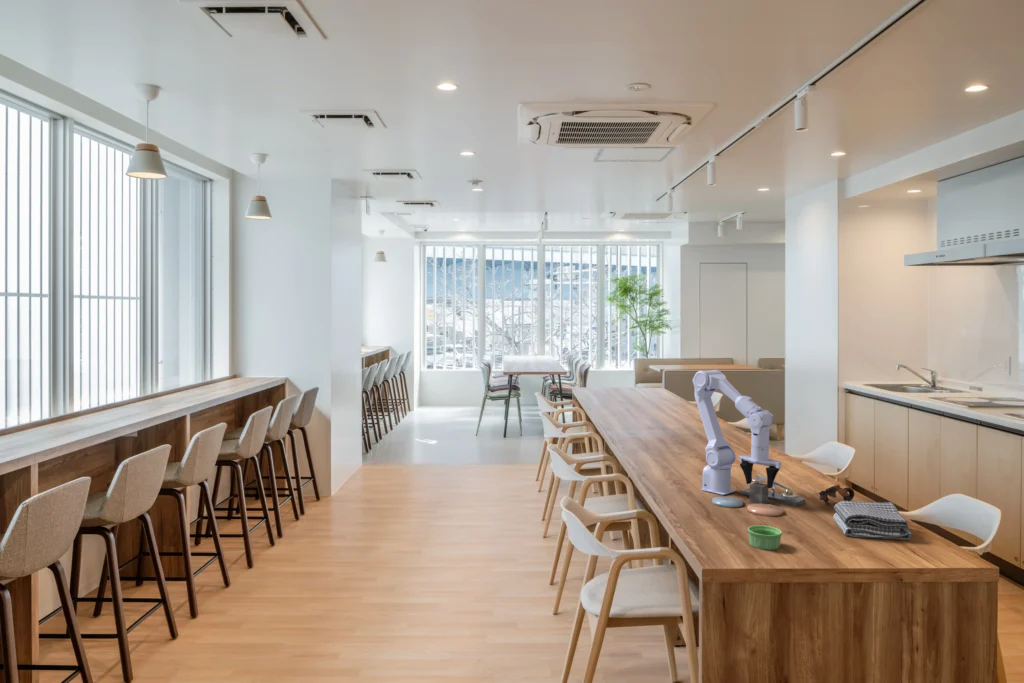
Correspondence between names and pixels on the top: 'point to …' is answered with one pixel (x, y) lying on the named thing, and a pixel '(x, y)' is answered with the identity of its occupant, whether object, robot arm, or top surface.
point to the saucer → (727, 502)
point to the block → (758, 493)
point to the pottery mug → (841, 491)
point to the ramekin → (764, 537)
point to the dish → (765, 509)
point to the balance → (777, 497)
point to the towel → (871, 520)
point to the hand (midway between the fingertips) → (759, 485)
